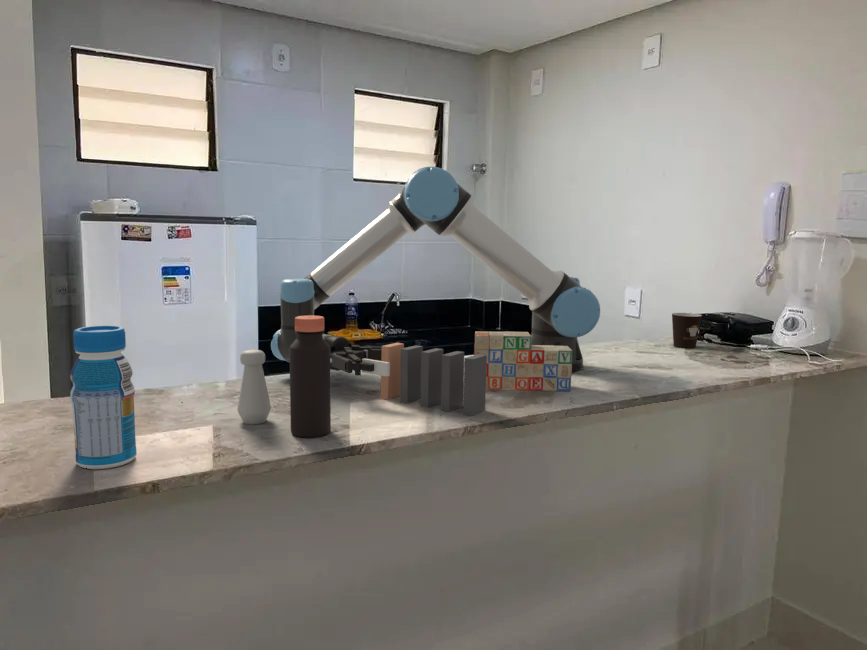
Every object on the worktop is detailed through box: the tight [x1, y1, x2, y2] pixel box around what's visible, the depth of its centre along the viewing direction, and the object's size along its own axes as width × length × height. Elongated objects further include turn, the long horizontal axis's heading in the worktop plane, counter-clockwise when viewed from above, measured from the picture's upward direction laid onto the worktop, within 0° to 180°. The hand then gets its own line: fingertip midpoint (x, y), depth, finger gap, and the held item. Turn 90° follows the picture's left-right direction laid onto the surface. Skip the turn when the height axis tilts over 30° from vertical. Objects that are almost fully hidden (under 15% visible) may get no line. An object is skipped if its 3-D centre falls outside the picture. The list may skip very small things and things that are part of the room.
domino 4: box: [462, 354, 487, 417], centre depth 128 cm, size 2×5×11 cm, turn 146°
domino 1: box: [399, 345, 424, 404], centre depth 136 cm, size 2×5×11 cm, turn 146°
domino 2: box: [420, 347, 444, 408], centre depth 133 cm, size 2×5×11 cm, turn 145°
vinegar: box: [289, 315, 332, 439], centre depth 113 cm, size 7×7×20 cm
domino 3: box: [440, 350, 465, 413], centre depth 131 cm, size 2×5×11 cm, turn 146°
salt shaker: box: [237, 349, 272, 426], centre depth 120 cm, size 6×6×13 cm
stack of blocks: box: [473, 330, 573, 392], centre depth 149 cm, size 21×6×12 cm, turn 87°
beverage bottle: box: [69, 325, 138, 470], centre depth 98 cm, size 8×8×20 cm
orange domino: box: [380, 342, 405, 400], centre depth 139 cm, size 2×5×11 cm, turn 146°
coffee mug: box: [671, 312, 710, 350], centre depth 204 cm, size 12×9×10 cm
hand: (407, 364), depth 137 cm, fingers open, 11 cm apart
